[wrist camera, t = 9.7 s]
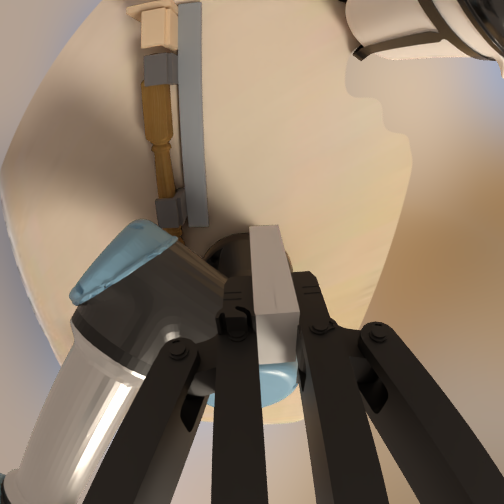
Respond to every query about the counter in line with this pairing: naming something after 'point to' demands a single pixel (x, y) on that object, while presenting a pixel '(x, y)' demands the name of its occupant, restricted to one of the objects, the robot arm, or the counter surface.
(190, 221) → the board
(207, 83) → the counter surface
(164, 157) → the tap handle
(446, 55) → the coffee press
